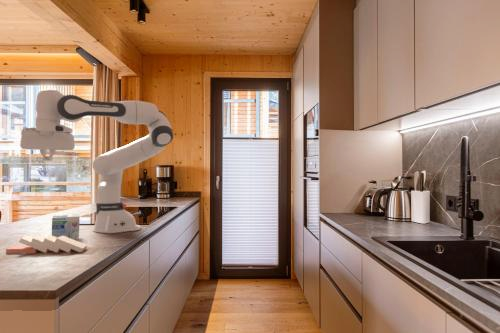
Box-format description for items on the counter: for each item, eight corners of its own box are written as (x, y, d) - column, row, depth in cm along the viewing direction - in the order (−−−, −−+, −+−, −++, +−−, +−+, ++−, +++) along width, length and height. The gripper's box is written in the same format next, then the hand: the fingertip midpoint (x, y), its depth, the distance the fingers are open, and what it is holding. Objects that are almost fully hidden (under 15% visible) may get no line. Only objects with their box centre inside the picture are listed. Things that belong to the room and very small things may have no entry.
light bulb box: (51, 242, 141) (51, 217, 141) (52, 239, 147) (52, 215, 147) (79, 240, 146) (79, 216, 146) (79, 237, 152) (79, 214, 152)
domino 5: (87, 245, 127) (62, 235, 126) (82, 248, 122) (56, 238, 121) (85, 249, 127) (60, 239, 126) (80, 252, 122) (54, 242, 121)
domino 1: (42, 245, 125) (14, 245, 124) (35, 248, 120) (6, 249, 119) (42, 249, 125) (14, 250, 124) (35, 253, 120) (6, 253, 119)
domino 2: (53, 245, 126) (28, 235, 125) (47, 248, 121) (20, 238, 120) (51, 249, 126) (26, 238, 124) (45, 252, 121) (18, 242, 120)
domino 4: (76, 245, 127) (51, 235, 125) (70, 248, 122) (44, 238, 121) (74, 249, 127) (49, 239, 125) (68, 252, 122) (42, 242, 120)
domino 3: (65, 245, 126) (39, 235, 125) (59, 248, 121) (32, 238, 120) (63, 249, 126) (38, 239, 125) (57, 252, 121) (30, 242, 120)
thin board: (101, 249, 130) (101, 247, 130) (92, 256, 120) (92, 254, 120) (36, 250, 127) (36, 248, 127) (21, 257, 117) (22, 255, 117)
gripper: (17, 126, 134) (16, 160, 134) (70, 127, 136) (69, 161, 136) (25, 128, 140) (25, 160, 140) (76, 129, 142) (75, 161, 143)
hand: (47, 160), depth 138 cm, fingers closed
